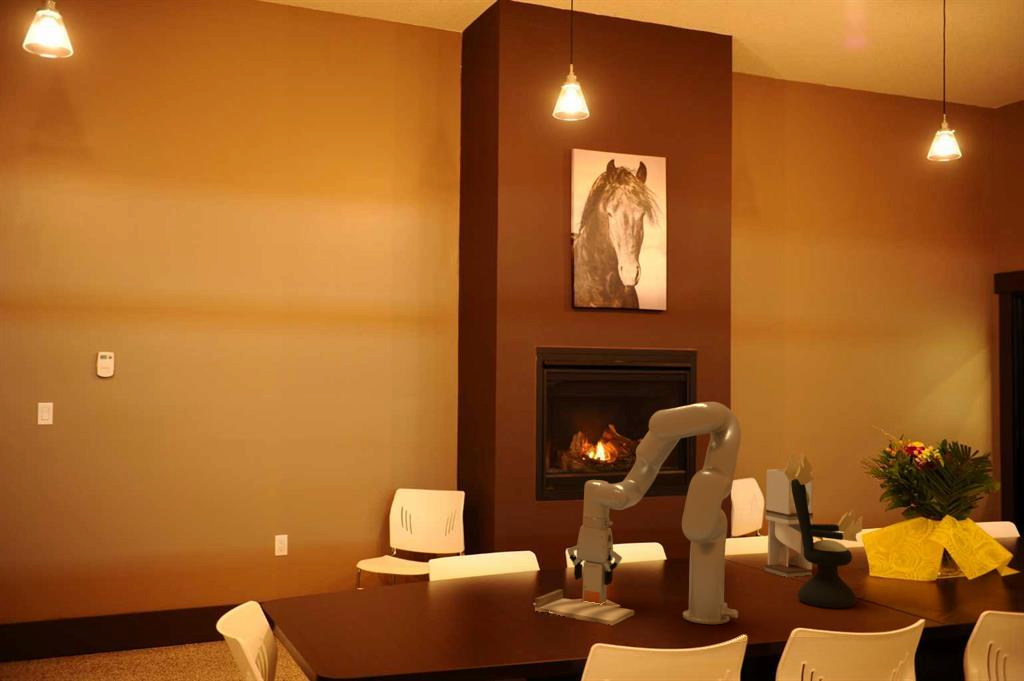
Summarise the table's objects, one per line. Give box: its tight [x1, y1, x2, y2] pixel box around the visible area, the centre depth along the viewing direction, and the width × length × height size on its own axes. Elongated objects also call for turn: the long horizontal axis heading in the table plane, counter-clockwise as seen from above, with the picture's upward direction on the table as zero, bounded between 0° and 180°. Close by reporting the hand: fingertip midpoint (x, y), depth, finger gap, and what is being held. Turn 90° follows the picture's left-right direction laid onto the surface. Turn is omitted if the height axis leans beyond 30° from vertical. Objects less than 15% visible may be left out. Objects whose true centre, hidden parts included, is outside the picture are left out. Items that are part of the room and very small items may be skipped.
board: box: [534, 589, 635, 626], centre depth 270 cm, size 24×14×4 cm, turn 58°
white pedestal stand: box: [764, 468, 814, 578], centre depth 332 cm, size 11×11×35 cm
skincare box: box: [582, 561, 608, 604], centre depth 282 cm, size 6×4×12 cm
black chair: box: [784, 451, 864, 609], centre depth 291 cm, size 19×22×45 cm
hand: (592, 581), depth 282 cm, fingers open, 9 cm apart
